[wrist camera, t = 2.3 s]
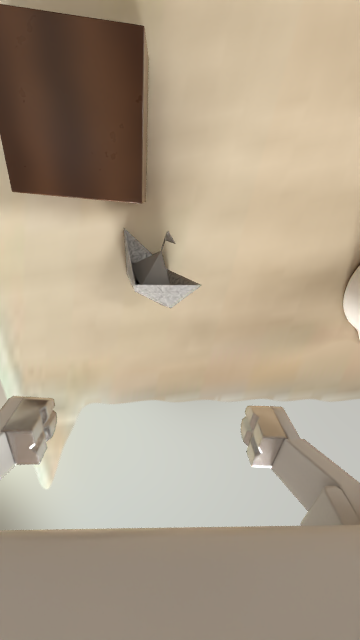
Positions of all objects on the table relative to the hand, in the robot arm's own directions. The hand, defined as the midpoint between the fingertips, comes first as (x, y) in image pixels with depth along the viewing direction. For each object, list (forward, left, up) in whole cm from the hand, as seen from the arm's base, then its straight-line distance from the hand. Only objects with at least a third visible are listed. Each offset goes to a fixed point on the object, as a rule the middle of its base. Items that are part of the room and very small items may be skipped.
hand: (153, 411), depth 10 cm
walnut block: (+8, -13, -24) cm, 28 cm away
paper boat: (0, 0, -24) cm, 24 cm away
